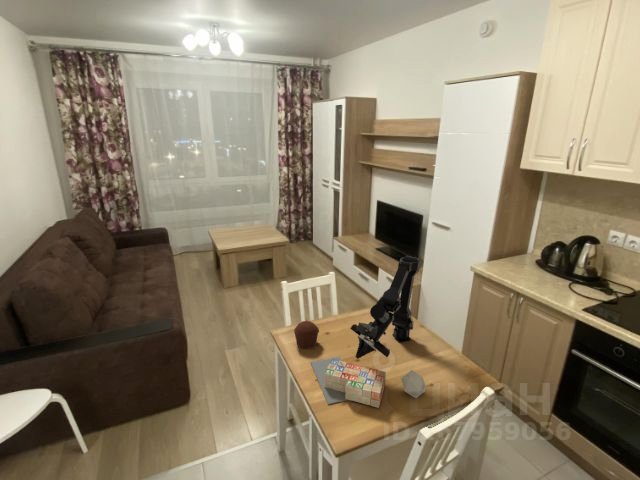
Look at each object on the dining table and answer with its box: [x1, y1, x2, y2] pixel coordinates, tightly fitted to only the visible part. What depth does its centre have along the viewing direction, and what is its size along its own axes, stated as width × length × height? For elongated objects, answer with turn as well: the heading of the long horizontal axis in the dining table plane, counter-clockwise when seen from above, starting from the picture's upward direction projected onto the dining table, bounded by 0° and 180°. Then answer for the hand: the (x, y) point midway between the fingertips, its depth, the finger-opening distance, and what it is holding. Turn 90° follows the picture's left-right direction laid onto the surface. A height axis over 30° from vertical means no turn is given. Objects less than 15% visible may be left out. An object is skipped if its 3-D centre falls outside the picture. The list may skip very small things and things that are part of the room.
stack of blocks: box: [324, 359, 387, 409], centre depth 126 cm, size 21×6×12 cm
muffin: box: [293, 320, 320, 349], centre depth 153 cm, size 12×11×10 cm
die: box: [400, 369, 428, 399], centre depth 124 cm, size 8×9×10 cm
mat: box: [309, 356, 349, 406], centre depth 132 cm, size 13×24×1 cm, turn 17°
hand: (356, 357), depth 132 cm, fingers closed
